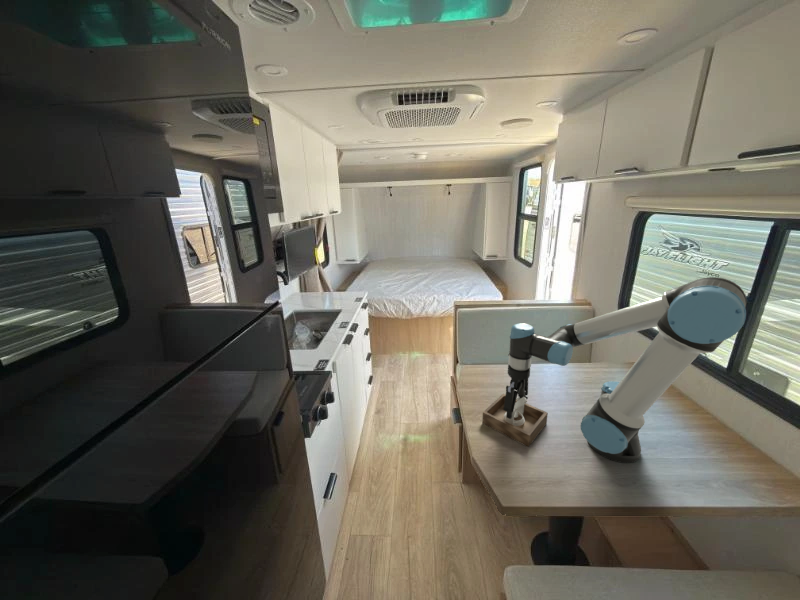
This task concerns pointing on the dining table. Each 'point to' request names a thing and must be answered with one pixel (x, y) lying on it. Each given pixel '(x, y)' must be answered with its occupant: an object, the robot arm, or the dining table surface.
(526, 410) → the wooden tray
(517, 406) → the hook
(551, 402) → the dining table surface
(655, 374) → the robot arm
